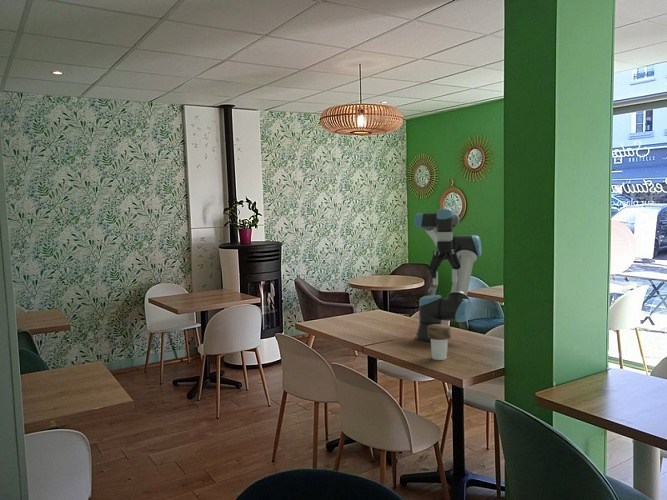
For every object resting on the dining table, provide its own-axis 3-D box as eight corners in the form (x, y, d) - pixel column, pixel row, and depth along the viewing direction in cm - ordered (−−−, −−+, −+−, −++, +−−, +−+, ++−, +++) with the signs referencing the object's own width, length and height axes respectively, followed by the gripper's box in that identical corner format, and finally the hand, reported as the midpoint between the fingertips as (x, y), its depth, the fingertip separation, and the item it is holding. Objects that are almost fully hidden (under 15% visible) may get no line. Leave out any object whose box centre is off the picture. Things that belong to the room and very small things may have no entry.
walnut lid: (438, 333, 265) (438, 323, 265) (455, 337, 256) (455, 326, 256) (422, 336, 259) (422, 326, 258) (439, 340, 250) (439, 330, 250)
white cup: (450, 357, 260) (450, 336, 259) (444, 361, 253) (444, 339, 252) (434, 355, 264) (434, 334, 263) (428, 359, 257) (428, 338, 256)
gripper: (456, 239, 281) (456, 280, 283) (421, 241, 267) (421, 285, 268) (467, 239, 275) (467, 281, 277) (432, 242, 261) (432, 286, 262)
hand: (445, 283), depth 273 cm, fingers open, 13 cm apart
